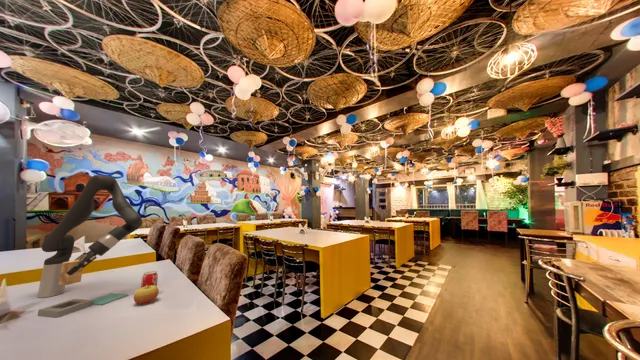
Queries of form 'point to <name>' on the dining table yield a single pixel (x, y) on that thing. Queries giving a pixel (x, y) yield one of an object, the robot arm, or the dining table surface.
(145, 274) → the soda can
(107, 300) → the teal mat
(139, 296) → the apple
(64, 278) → the oak block
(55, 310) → the frame
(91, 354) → the dining table surface
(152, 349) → the dining table surface
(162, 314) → the dining table surface
